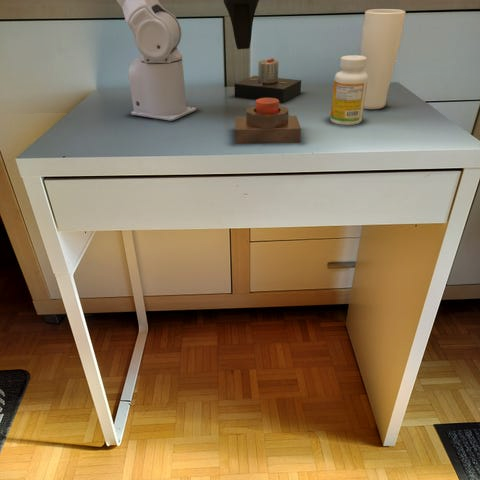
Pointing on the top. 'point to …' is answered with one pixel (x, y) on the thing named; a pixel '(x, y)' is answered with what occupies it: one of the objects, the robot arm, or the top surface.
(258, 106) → the button
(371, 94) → the tall cream tumbler
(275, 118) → the button block
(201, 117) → the top surface
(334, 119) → the supplement bottle
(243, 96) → the dial panel
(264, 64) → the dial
